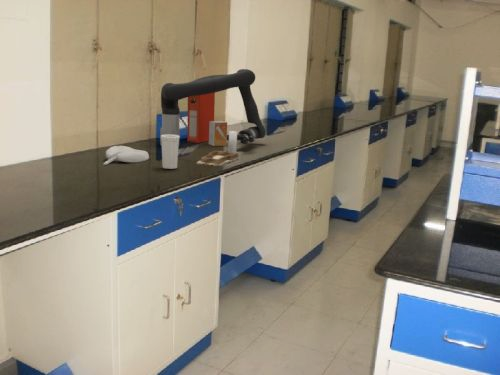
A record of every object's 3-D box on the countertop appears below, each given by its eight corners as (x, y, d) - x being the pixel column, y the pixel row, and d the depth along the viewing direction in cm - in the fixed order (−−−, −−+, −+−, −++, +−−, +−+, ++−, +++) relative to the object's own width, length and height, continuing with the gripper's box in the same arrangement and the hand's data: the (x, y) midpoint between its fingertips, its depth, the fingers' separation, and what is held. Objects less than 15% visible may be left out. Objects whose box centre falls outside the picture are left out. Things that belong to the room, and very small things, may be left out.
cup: (170, 170, 235) (171, 137, 232) (156, 168, 239) (156, 135, 236) (182, 168, 242) (183, 135, 239) (168, 165, 246) (169, 133, 243)
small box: (214, 146, 301) (214, 122, 298) (208, 144, 306) (209, 121, 303) (226, 145, 306) (227, 122, 303) (221, 143, 311) (221, 120, 308)
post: (227, 155, 277) (228, 131, 274) (230, 153, 281) (230, 130, 278) (234, 156, 276) (235, 132, 273) (237, 154, 280) (238, 131, 277)
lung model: (153, 158, 259) (121, 172, 238) (123, 155, 266) (89, 168, 244) (152, 145, 257) (120, 158, 236) (122, 142, 264) (88, 154, 242)
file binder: (186, 141, 312) (187, 84, 304) (201, 138, 327) (203, 83, 319) (199, 143, 308) (200, 85, 301) (213, 139, 324) (215, 84, 316)
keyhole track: (196, 163, 253) (196, 157, 252) (215, 156, 273) (215, 150, 272) (220, 166, 249) (221, 160, 248) (237, 158, 269) (238, 153, 268)
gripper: (234, 128, 298) (223, 131, 283) (259, 130, 293) (249, 134, 278) (234, 141, 299) (223, 145, 284) (258, 144, 295) (249, 148, 280)
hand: (236, 140), depth 281 cm, fingers open, 8 cm apart
